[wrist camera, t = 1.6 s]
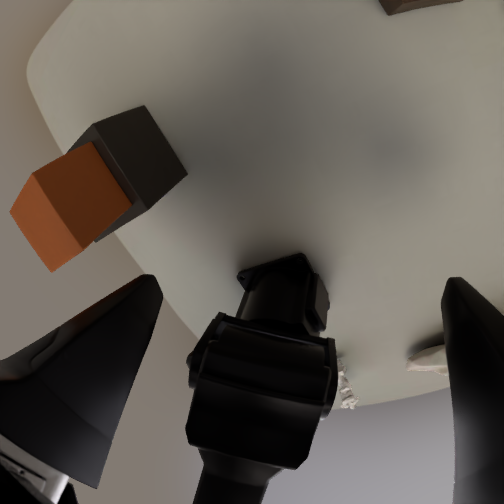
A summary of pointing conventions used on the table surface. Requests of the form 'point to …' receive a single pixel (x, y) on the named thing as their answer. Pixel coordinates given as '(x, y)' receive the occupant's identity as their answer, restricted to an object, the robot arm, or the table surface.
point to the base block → (410, 5)
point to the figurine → (345, 388)
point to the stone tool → (429, 360)
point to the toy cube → (68, 205)
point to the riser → (134, 160)
